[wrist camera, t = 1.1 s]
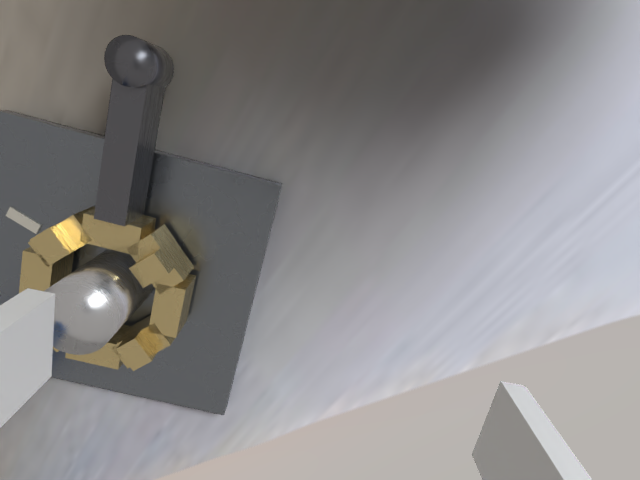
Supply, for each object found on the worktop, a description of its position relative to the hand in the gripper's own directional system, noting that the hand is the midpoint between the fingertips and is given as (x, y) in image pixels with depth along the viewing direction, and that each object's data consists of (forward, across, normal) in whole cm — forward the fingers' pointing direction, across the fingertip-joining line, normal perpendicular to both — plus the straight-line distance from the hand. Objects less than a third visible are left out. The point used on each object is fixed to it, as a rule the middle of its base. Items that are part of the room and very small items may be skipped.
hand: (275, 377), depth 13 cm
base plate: (+21, -12, -8) cm, 26 cm away
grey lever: (+20, -12, -2) cm, 23 cm away
